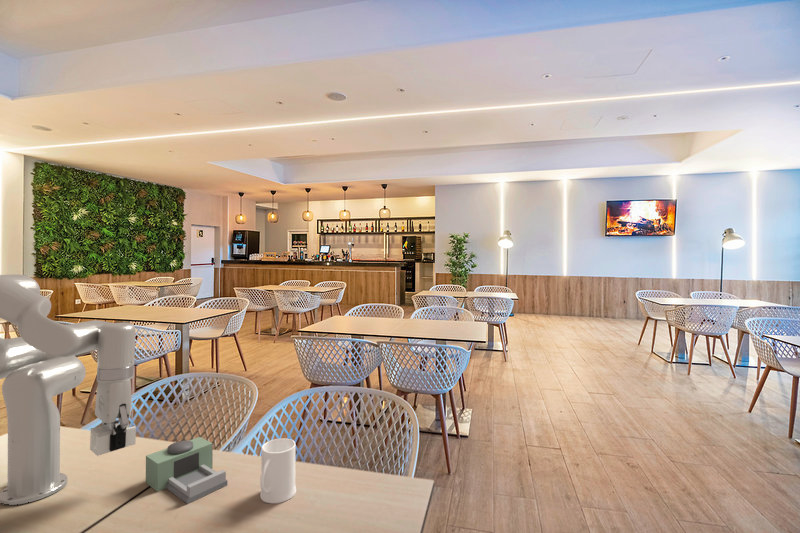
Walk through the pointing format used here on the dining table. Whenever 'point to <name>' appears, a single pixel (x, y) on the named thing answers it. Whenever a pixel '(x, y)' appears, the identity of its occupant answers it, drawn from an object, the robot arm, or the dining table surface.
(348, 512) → the dining table surface
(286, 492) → the mug
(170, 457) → the toy coffee machine
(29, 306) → the robot arm
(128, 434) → the white box on legs
